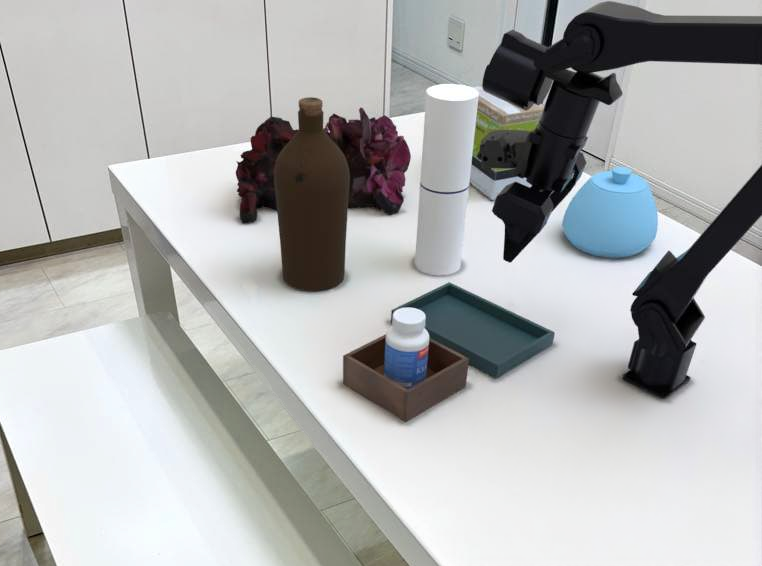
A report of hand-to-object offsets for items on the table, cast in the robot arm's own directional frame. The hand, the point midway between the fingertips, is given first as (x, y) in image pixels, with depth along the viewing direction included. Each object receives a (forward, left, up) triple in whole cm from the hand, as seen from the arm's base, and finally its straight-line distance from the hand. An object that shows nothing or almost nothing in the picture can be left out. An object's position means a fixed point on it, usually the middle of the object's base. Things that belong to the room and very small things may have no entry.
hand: (518, 245), depth 112 cm
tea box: (+35, -40, -13) cm, 55 cm away
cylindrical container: (+20, -8, -13) cm, 25 cm away
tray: (+3, +4, -13) cm, 14 cm away
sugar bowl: (+7, -35, -13) cm, 38 cm away
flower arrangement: (+50, -11, -13) cm, 53 cm away
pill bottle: (+1, +20, -13) cm, 24 cm away
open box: (+1, +20, -13) cm, 24 cm away
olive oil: (+30, +9, -13) cm, 34 cm away
